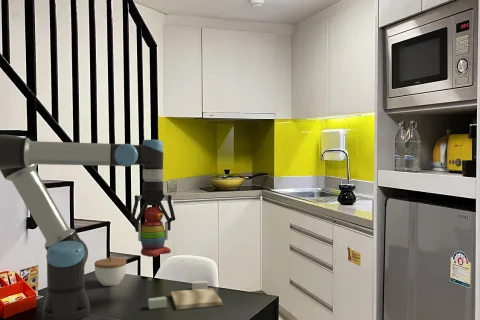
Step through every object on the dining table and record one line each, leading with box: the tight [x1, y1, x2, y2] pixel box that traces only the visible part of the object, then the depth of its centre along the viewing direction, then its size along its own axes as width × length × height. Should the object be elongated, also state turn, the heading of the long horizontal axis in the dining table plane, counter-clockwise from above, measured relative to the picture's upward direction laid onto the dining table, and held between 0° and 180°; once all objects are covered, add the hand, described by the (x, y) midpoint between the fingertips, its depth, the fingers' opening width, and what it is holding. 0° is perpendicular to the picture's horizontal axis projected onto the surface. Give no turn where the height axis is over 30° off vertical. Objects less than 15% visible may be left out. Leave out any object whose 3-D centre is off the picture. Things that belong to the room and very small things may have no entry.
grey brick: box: [191, 280, 209, 290], centre depth 179 cm, size 6×3×3 cm, turn 92°
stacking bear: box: [140, 205, 172, 258], centre depth 172 cm, size 11×10×18 cm
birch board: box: [170, 287, 223, 311], centre depth 166 cm, size 16×16×2 cm
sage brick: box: [147, 296, 168, 310], centre depth 159 cm, size 6×3×3 cm, turn 112°
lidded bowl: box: [94, 256, 127, 287], centre depth 188 cm, size 13×13×11 cm
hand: (153, 239), depth 172 cm, fingers closed on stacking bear, 9 cm apart
